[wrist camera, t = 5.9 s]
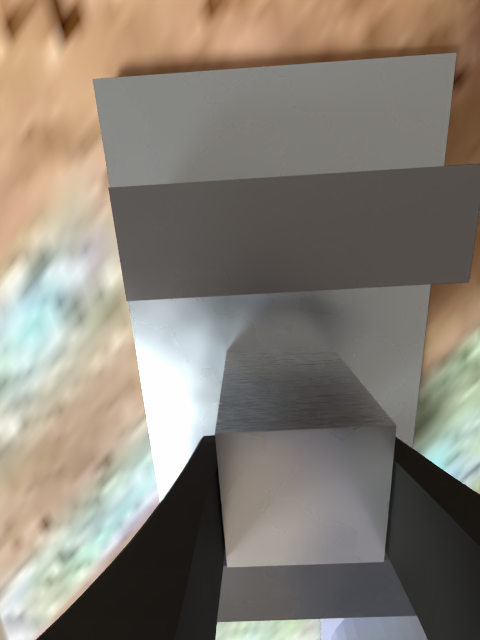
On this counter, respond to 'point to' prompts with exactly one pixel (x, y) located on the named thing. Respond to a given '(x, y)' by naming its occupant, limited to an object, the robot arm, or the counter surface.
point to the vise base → (290, 307)
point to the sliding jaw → (297, 232)
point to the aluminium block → (301, 460)
